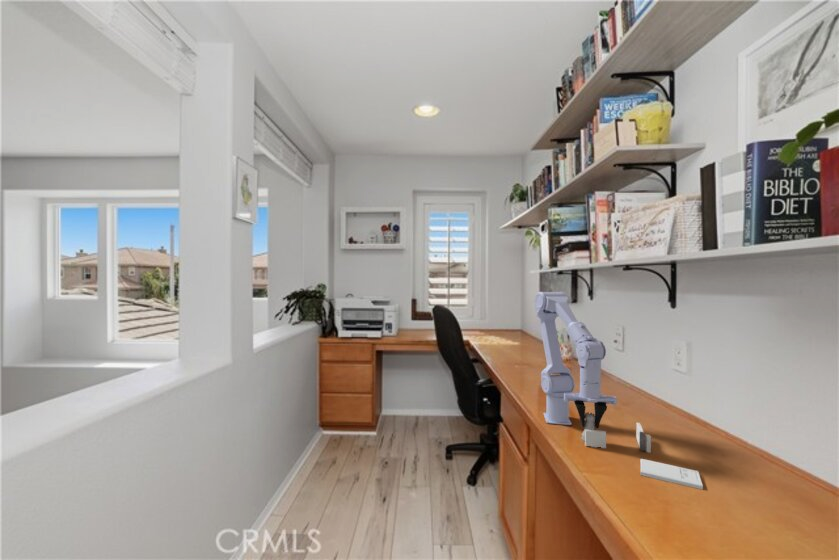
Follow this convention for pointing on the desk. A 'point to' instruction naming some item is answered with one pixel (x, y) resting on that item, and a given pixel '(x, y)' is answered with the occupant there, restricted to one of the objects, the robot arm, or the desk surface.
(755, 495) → the desk surface
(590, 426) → the rook chess piece
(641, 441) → the door
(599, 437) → the wall
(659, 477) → the external hard drive
